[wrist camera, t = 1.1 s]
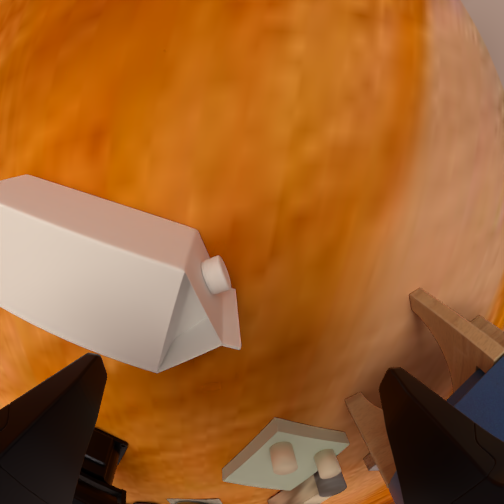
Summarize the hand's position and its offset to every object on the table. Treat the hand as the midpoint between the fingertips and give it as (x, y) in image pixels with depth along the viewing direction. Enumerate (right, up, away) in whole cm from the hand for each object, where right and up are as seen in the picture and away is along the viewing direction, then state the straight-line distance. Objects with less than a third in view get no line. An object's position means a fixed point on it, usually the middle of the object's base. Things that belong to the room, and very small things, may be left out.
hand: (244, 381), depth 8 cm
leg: (+7, -29, +22) cm, 37 cm away
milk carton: (-19, +6, +6) cm, 21 cm away
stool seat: (+4, -20, +20) cm, 29 cm away
